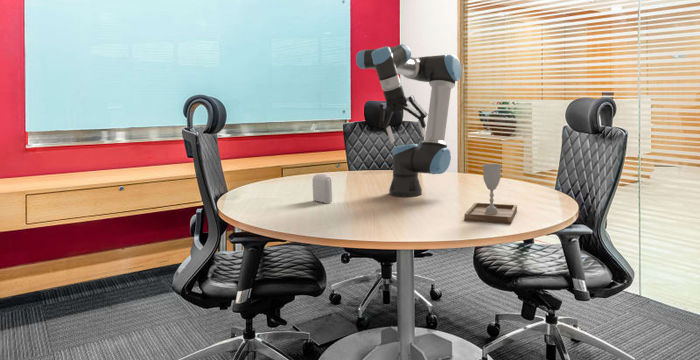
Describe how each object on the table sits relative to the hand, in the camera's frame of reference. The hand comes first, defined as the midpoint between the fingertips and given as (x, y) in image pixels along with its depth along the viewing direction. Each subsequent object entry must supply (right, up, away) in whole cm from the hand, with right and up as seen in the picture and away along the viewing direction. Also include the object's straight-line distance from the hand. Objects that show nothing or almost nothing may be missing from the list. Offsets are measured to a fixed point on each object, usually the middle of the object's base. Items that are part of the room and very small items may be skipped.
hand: (408, 139), depth 200 cm
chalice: (+30, -29, -11) cm, 43 cm away
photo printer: (-35, -26, +22) cm, 49 cm away
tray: (+30, -30, -11) cm, 43 cm away
